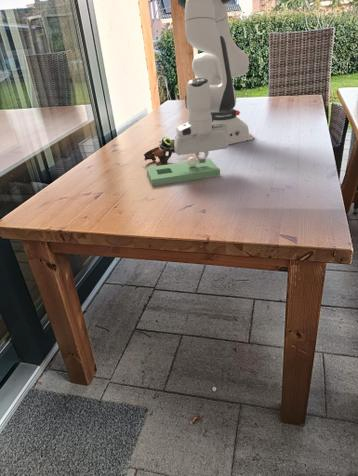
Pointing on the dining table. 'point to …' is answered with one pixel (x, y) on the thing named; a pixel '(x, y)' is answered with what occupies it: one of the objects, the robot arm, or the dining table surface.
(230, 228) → the dining table surface
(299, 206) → the dining table surface
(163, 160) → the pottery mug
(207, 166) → the green board
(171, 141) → the salad plate
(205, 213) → the dining table surface
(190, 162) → the ball
